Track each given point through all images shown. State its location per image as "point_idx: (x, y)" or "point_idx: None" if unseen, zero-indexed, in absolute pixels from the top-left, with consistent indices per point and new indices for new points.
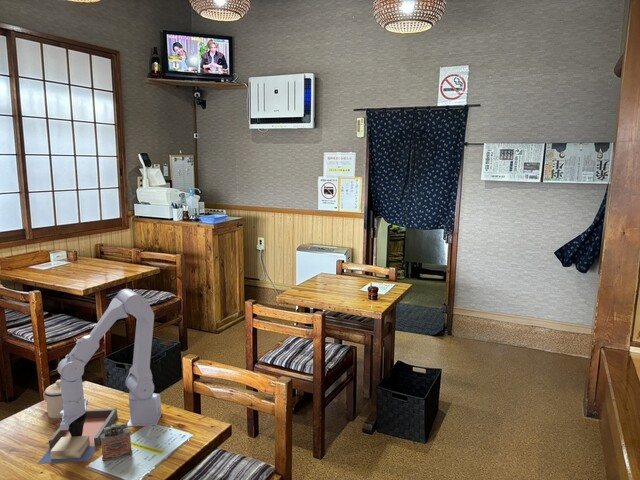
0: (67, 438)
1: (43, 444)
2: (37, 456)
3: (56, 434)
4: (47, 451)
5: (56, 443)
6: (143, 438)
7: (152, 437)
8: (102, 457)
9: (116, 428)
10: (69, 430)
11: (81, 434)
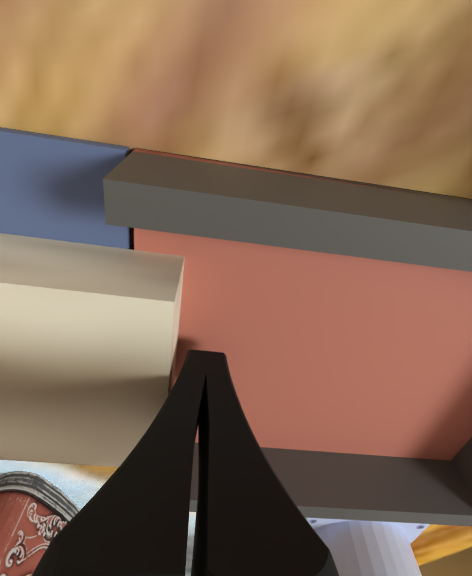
0: (137, 358)
1: (259, 27)
2: (4, 39)
3: (238, 238)
4: (73, 147)
5: (39, 289)
6: (189, 547)
7: (191, 561)
8: (7, 489)
9: None
10: (145, 439)
11: (199, 426)
